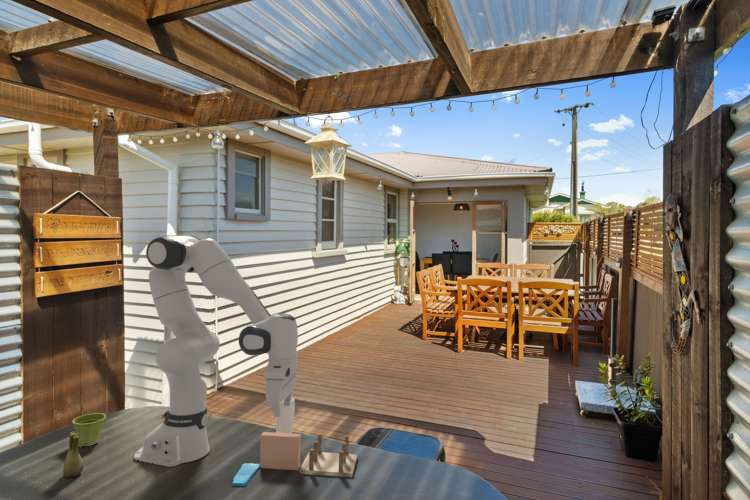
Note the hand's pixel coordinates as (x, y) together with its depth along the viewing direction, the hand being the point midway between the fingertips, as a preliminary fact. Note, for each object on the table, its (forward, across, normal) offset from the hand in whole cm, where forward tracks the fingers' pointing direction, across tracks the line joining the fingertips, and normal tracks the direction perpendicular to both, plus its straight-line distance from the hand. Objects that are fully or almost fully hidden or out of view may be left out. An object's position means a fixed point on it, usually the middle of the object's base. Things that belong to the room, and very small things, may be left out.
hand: (282, 410), depth 128 cm
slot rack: (+18, -3, +14) cm, 23 cm away
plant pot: (+16, -7, -70) cm, 72 cm away
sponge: (+18, +6, -10) cm, 21 cm away
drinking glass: (+17, -17, -5) cm, 25 cm away
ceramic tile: (+17, 0, -1) cm, 17 cm away
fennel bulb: (+16, +12, -59) cm, 62 cm away
